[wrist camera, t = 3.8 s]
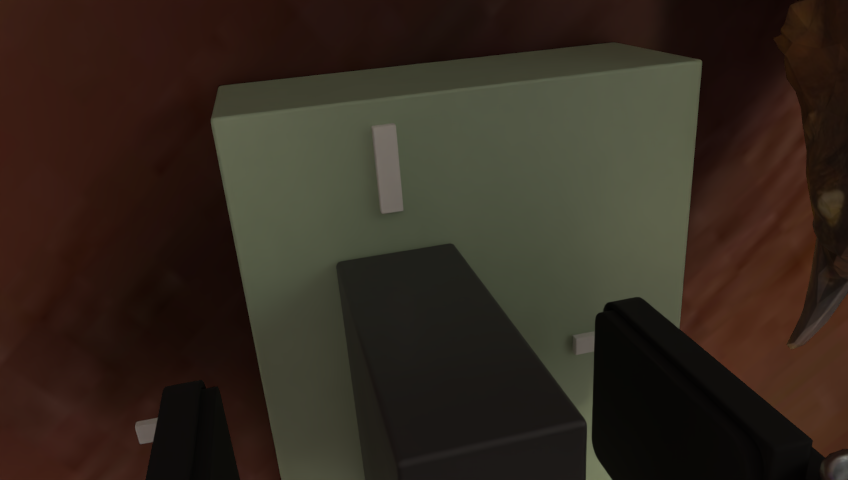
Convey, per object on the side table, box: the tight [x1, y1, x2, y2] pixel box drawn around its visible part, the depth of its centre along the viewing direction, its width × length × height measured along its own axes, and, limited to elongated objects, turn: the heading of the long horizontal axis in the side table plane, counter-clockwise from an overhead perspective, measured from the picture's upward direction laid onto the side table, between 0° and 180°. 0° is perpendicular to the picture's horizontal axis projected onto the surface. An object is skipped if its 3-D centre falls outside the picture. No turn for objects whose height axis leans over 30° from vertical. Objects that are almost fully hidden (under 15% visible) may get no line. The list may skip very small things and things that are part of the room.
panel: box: [135, 42, 702, 480], centre depth 14 cm, size 10×10×3 cm
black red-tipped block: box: [336, 243, 587, 480], centre depth 10 cm, size 5×2×5 cm, turn 4°
